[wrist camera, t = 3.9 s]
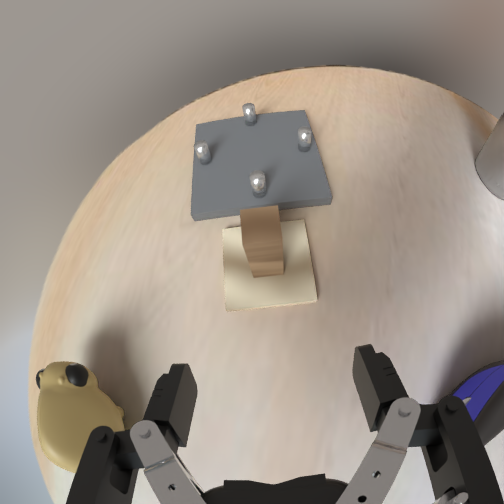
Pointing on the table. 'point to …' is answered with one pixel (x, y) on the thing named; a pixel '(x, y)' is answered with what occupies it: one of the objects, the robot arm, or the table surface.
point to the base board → (256, 166)
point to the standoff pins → (256, 176)
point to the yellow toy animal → (71, 412)
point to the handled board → (269, 286)
